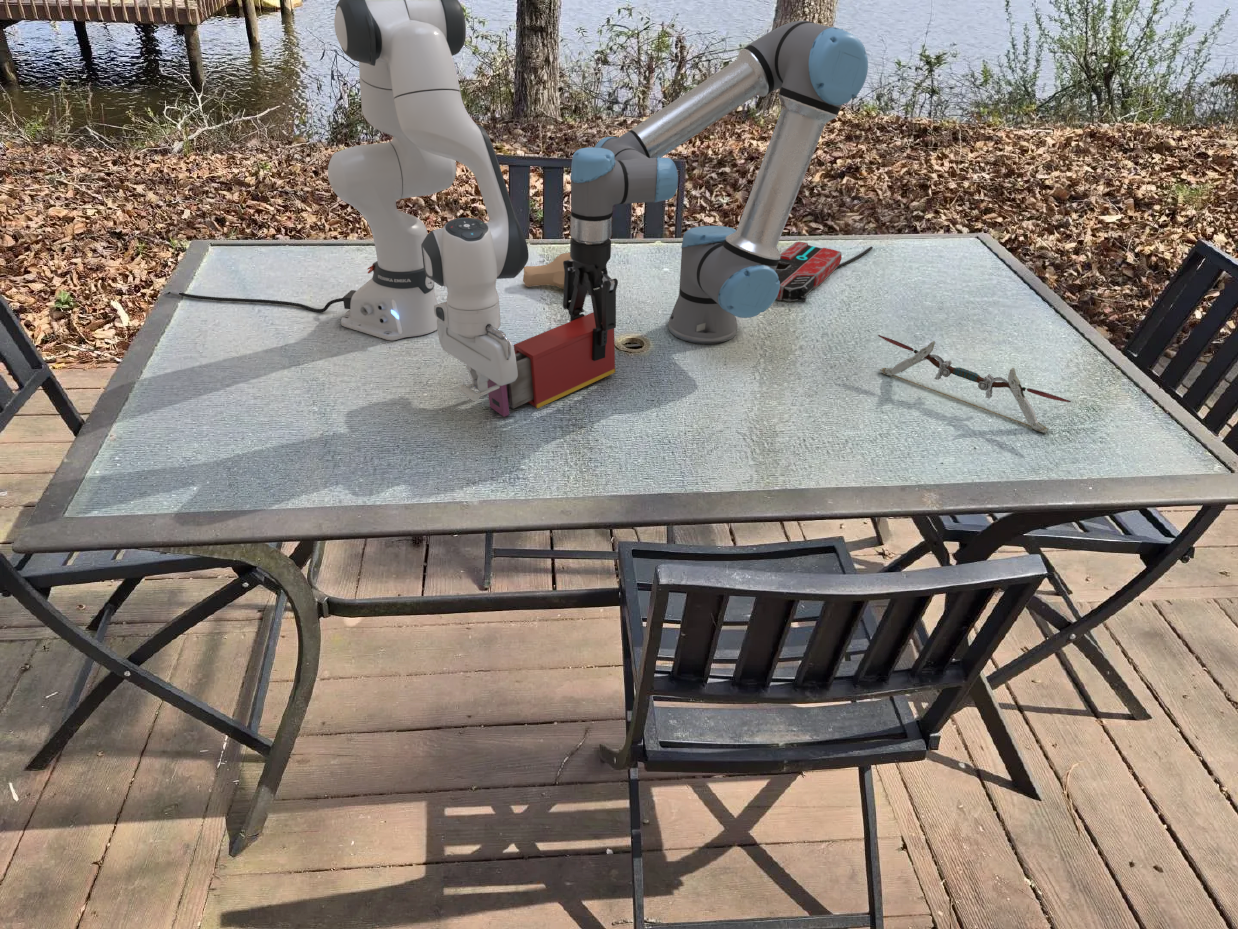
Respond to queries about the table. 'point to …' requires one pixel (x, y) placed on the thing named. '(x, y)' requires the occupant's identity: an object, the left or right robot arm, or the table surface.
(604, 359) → the red yellow-edged box
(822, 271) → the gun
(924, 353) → the bow
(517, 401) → the drawer
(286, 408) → the table surface
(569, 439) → the table surface
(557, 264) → the squash
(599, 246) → the right robot arm
